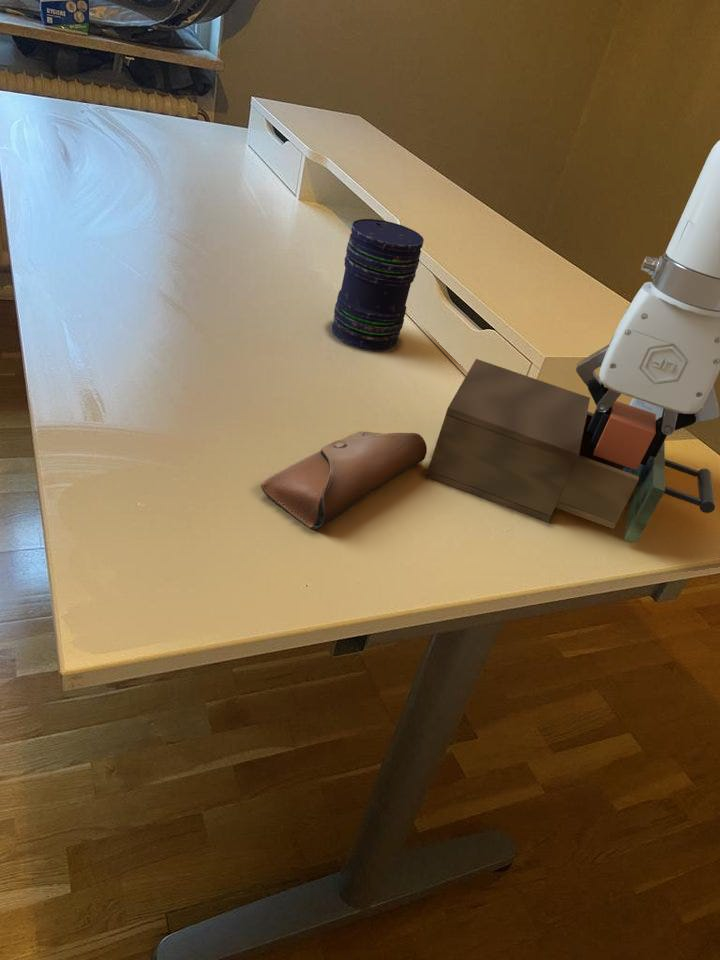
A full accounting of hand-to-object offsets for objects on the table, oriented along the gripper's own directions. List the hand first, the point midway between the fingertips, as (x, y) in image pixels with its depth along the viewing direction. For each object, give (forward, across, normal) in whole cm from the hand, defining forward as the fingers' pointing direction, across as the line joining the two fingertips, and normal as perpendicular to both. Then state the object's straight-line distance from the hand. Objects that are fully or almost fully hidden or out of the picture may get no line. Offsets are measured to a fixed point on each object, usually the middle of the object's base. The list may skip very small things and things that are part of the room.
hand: (618, 448), depth 78 cm
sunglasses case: (+7, -25, -13) cm, 29 cm away
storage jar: (+7, -35, +22) cm, 42 cm away
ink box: (+7, +3, +11) cm, 14 cm away
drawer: (+6, +1, 0) cm, 6 cm away
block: (+1, 0, 0) cm, 1 cm away
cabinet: (+7, -11, 0) cm, 13 cm away
